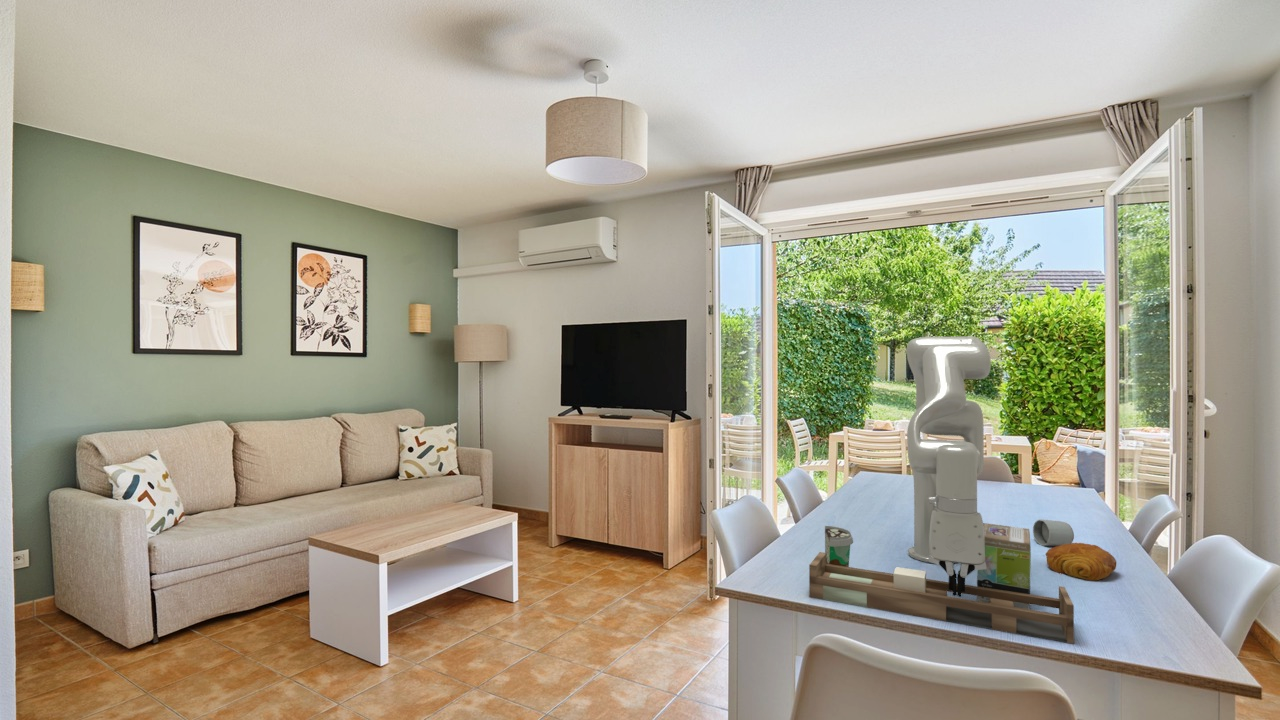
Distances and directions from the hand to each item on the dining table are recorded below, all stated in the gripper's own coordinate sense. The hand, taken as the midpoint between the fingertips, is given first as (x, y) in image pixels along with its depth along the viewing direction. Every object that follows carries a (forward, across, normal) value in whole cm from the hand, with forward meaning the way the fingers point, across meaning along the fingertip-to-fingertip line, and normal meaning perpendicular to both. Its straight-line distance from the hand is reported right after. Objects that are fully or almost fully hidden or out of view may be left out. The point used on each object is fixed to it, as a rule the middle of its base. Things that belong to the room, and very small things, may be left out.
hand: (956, 593), depth 125 cm
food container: (+4, -26, +15) cm, 30 cm away
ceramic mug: (+4, +24, +71) cm, 75 cm away
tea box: (+4, +9, +15) cm, 18 cm away
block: (+1, -9, 0) cm, 9 cm away
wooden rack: (+4, -5, 0) cm, 6 cm away
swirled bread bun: (+4, +27, +46) cm, 53 cm away
